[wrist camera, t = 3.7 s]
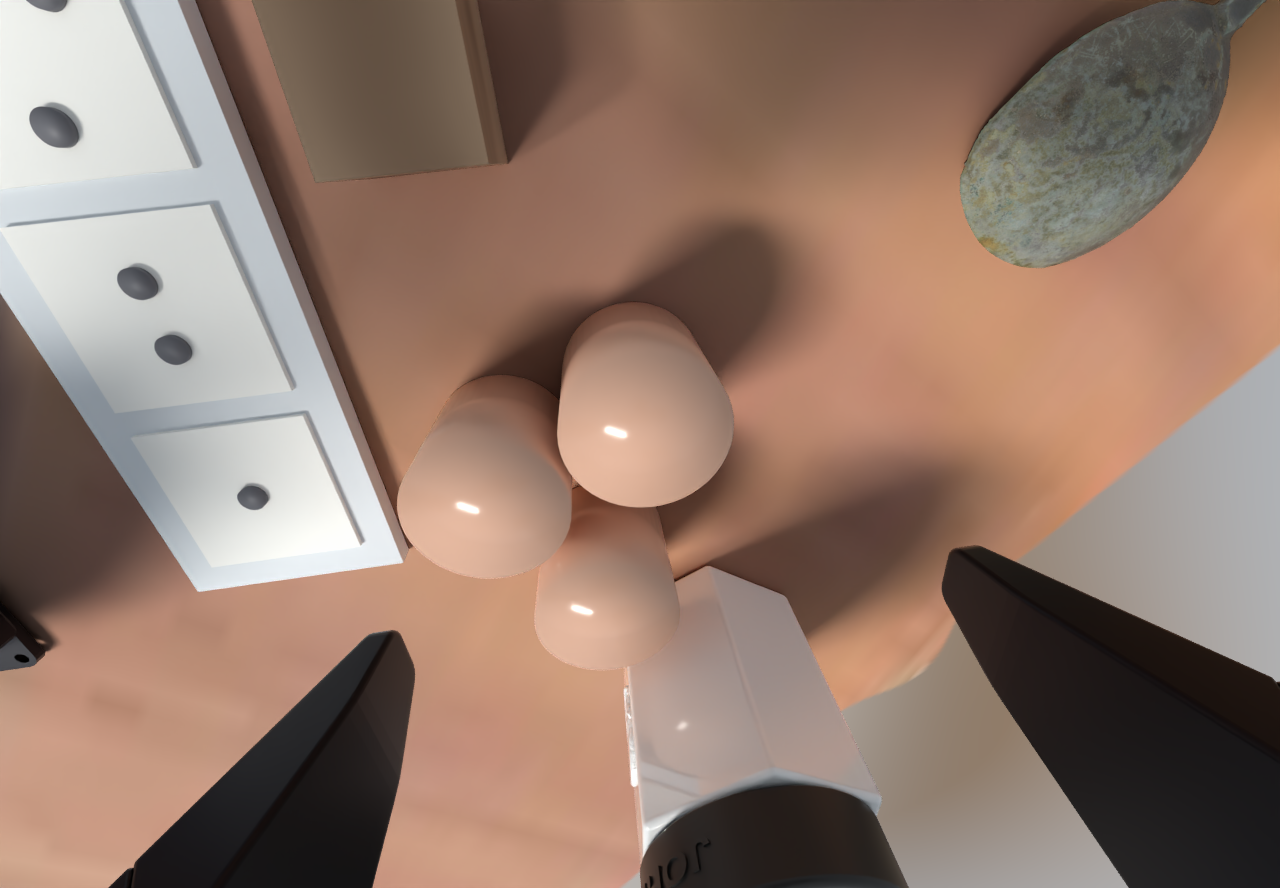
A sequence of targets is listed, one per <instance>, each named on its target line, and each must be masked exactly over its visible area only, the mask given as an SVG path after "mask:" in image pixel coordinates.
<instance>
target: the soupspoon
mask: <svg viewBox="0 0 1280 888" xmlns="http://www.w3.org/2000/svg"><path fill="white" fill-rule="evenodd" d="M1264 2H1266V0H1220V1H1219V2H1218V3H1217V4H1215V5H1209V4H1203V3H1200V2H1195V1H1189V0H1177V1H1165V2H1158V3H1155V4H1152V5H1149V6H1146V7H1144V8H1141V9H1138V10H1136V11H1133V12H1130V13H1128V14H1126V15H1125V16H1122V17H1118V18H1115V19H1113V20H1111V21H1109V22H1107V23H1104V24H1103V25H1101V26H1099V27H1098V28H1096V29H1094V30H1092V31H1090V32H1089V33H1087V34H1085V35H1084V36H1082V37H1080V38H1079V39H1078V40H1077V41H1076V42H1074V43H1073V44H1072V45H1070V46H1069V47H1067V48H1065V49H1064V50H1062V51H1060V52H1059V53H1058V54H1057V55H1055V56H1054V57H1053V58H1052V59H1050V60H1049V61H1048V63H1046V64H1045V66H1043V67H1042V68H1041V70H1040V71H1039V72H1038V73H1037V74H1035V75H1034V76H1033V77H1032V78H1031V79H1030V80H1029V81H1028V82H1027V83H1026V84H1025V85H1024V86H1023V87H1022V88H1021V89H1020V90H1019V91H1018V92H1017V93H1016V94H1015V95H1014V96H1013V97H1012V98H1011V99H1010V100H1009V101H1008V102H1007V103H1006V104H1005V105H1004V106H1003V107H1002V108H1001V109H1000V110H999V111H998V113H997V114H995V116H993V118H992V119H990V120H989V122H988V124H987V125H986V126H984V129H983V130H982V131H981V132H980V134H979V136H978V139H977V140H976V141H975V143H974V145H973V148H972V150H971V152H970V154H969V157H968V160H967V162H966V163H965V167H964V169H963V172H962V174H961V177H960V194H961V201H962V205H963V209H964V213H965V216H966V219H967V221H968V224H969V226H970V228H971V230H972V231H973V233H974V235H975V236H976V238H977V239H978V241H979V242H980V243H981V244H982V245H983V246H984V247H985V248H986V249H987V250H988V251H989V252H990V253H992V254H993V255H995V256H996V257H998V258H1000V259H1001V260H1003V261H1006V262H1008V263H1010V264H1013V265H1017V266H1021V267H1028V268H1045V267H1049V266H1053V265H1057V264H1060V263H1063V262H1066V261H1069V260H1072V259H1076V258H1077V257H1079V256H1082V255H1084V254H1086V253H1088V252H1090V251H1092V250H1095V249H1097V248H1099V247H1101V246H1102V245H1104V244H1106V243H1107V242H1109V241H1111V240H1112V239H1114V238H1115V237H1117V236H1118V235H1120V234H1121V233H1123V232H1124V231H1126V230H1127V229H1129V228H1131V227H1132V226H1133V225H1134V224H1135V223H1137V222H1138V221H1140V220H1141V219H1142V218H1143V217H1144V216H1145V215H1146V214H1148V213H1149V212H1150V211H1151V210H1152V209H1153V208H1155V207H1156V206H1157V205H1158V204H1159V203H1160V202H1161V201H1162V200H1163V199H1164V198H1165V197H1166V196H1167V195H1168V194H1169V193H1170V192H1171V190H1172V189H1173V188H1174V187H1175V186H1176V185H1177V184H1178V183H1179V181H1180V180H1181V179H1182V178H1183V176H1184V175H1185V174H1186V172H1187V171H1188V170H1189V168H1190V167H1191V166H1192V164H1193V163H1194V162H1195V160H1196V158H1197V157H1198V156H1199V154H1200V153H1201V151H1202V150H1203V148H1204V146H1205V144H1206V143H1207V140H1208V138H1209V136H1210V134H1211V132H1212V130H1213V128H1214V126H1215V123H1216V121H1217V119H1218V116H1219V113H1220V110H1221V107H1222V104H1223V100H1224V97H1225V95H1226V89H1227V85H1228V78H1229V66H1230V40H1231V37H1232V35H1233V34H1234V32H1235V31H1236V30H1238V29H1239V28H1240V27H1242V25H1243V24H1244V22H1245V21H1246V19H1248V18H1249V17H1250V16H1251V15H1252V14H1253V13H1254V12H1255V10H1256V9H1258V8H1259V7H1260V6H1261V5H1262V3H1264Z"/></svg>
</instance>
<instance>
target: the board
mask: <svg viewBox="0 0 1280 888" xmlns="http://www.w3.org/2000/svg"><path fill="white" fill-rule="evenodd" d="M0 293H1V295H2V296H3V298H4V299H5V301H6V302H7V304H8V305H9V307H10V308H11V310H12V311H13V313H14V314H15V316H16V317H17V319H18V320H19V322H20V323H21V325H22V326H23V328H24V329H25V331H26V333H27V334H28V336H29V337H30V339H31V340H32V342H33V343H34V345H35V346H36V348H37V349H38V351H39V352H40V354H41V355H42V357H43V358H44V360H45V361H46V363H47V364H48V366H49V367H50V369H51V370H52V372H53V373H54V375H55V376H56V378H57V379H58V381H59V382H60V384H61V385H62V387H63V388H64V390H65V391H66V393H67V394H68V396H69V397H70V399H71V401H72V402H73V404H74V405H75V407H76V408H77V410H78V411H79V413H80V414H81V416H82V417H83V419H84V420H85V422H86V423H87V425H88V426H89V428H90V429H91V431H92V432H93V434H94V435H95V437H96V438H97V440H98V441H99V443H100V444H101V446H102V447H103V449H104V450H105V452H106V453H107V455H108V456H109V458H110V459H111V461H112V462H113V464H114V465H115V467H116V469H117V470H118V472H119V473H120V475H121V476H122V478H123V479H124V481H125V482H126V484H127V485H128V487H129V488H130V490H131V491H132V493H133V494H134V496H135V497H136V499H137V500H138V502H139V503H140V505H141V506H142V508H143V509H144V511H145V512H146V514H147V515H148V517H149V518H150V520H151V521H152V523H153V524H154V526H155V527H156V529H157V530H158V532H159V533H160V535H161V537H162V538H163V540H164V541H165V543H166V544H167V546H168V547H169V549H170V550H171V552H172V553H173V555H174V556H175V558H176V559H177V561H178V562H179V564H180V565H181V567H182V568H183V570H184V571H185V573H186V574H187V576H188V577H189V579H190V580H191V582H192V583H193V585H194V586H195V588H196V589H197V591H198V592H201V591H208V590H215V589H222V588H229V587H236V586H243V585H250V584H257V583H264V582H271V581H278V580H285V579H292V578H299V577H306V576H313V575H320V574H327V573H334V572H341V571H348V570H355V569H363V568H370V567H377V566H384V565H391V564H398V563H403V562H404V560H405V558H406V555H407V553H408V551H409V549H408V546H407V544H406V541H405V539H404V536H403V533H402V531H401V528H400V526H399V523H398V521H397V518H396V515H395V513H394V510H393V508H392V505H391V503H390V500H389V497H388V495H387V492H386V490H385V487H384V485H383V482H382V479H381V477H380V474H379V472H378V469H377V467H376V464H375V461H374V459H373V456H372V454H371V451H370V449H369V446H368V443H367V441H366V438H365V436H364V433H363V431H362V428H361V425H360V423H359V420H358V418H357V415H356V413H355V410H354V408H353V405H352V402H351V400H350V397H349V395H348V392H347V390H346V387H345V384H344V382H343V379H342V377H341V374H340V372H339V369H338V366H337V364H336V361H335V359H334V356H333V354H332V351H331V348H330V346H329V343H328V341H327V338H326V336H325V333H324V330H323V328H322V325H321V323H320V320H319V318H318V315H317V312H316V310H315V307H314V305H313V302H312V300H311V297H310V294H309V292H308V289H307V287H306V284H305V282H304V279H303V276H302V274H301V271H300V269H299V266H298V264H297V261H296V258H295V256H294V253H293V251H292V248H291V246H290V243H289V240H288V238H287V235H286V233H285V230H284V228H283V225H282V222H281V220H280V217H279V215H278V212H277V210H276V207H275V205H274V202H273V199H272V197H271V194H270V192H269V189H268V187H267V184H266V181H265V179H264V176H263V174H262V171H261V169H260V166H259V163H258V161H257V158H256V156H255V153H254V151H253V148H252V145H251V143H250V140H249V138H248V135H247V133H246V130H245V127H244V125H243V122H242V120H241V117H240V115H239V112H238V109H237V107H236V104H235V102H234V99H233V97H232V94H231V91H230V89H229V86H228V84H227V81H226V79H225V76H224V73H223V71H222V68H221V66H220V63H219V61H218V58H217V55H216V53H215V50H214V48H213V45H212V43H211V40H210V37H209V35H208V32H207V30H206V27H205V25H204V22H203V19H202V17H201V14H200V12H199V9H198V7H197V4H196V2H195V0H0Z"/></svg>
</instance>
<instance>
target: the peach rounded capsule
mask: <svg viewBox="0 0 1280 888" xmlns="http://www.w3.org/2000/svg"><path fill="white" fill-rule="evenodd" d="M559 404H560V402H559V400H558V399H557V398H556V397H555V396H554V395H553V394H552V393H550V392H549V391H548V390H547V389H545V388H544V387H542V386H540V385H539V384H537V383H535V382H532V381H530V380H528V379H524V378H521V377H517V376H511V375H491V376H486V377H481V378H478V379H475V380H473V381H470V382H468V383H466V384H465V385H463V386H462V387H460V388H459V389H458V390H456V391H455V392H454V393H453V394H452V395H451V396H450V398H449V399H448V400H447V401H446V403H445V405H444V406H443V408H442V410H441V412H440V413H439V415H438V417H437V419H436V421H435V422H434V424H433V426H432V428H431V430H430V431H429V433H428V435H427V437H426V439H425V440H424V442H423V444H422V446H421V448H420V449H419V451H418V453H417V455H416V457H415V458H414V460H413V462H412V464H411V465H410V467H409V469H408V471H407V473H406V474H405V476H404V478H403V480H402V483H401V485H400V488H399V492H398V497H397V511H398V517H399V521H400V524H401V527H402V529H403V531H404V533H405V535H406V536H407V538H408V539H409V541H410V542H411V544H412V545H413V546H414V547H415V548H416V549H417V550H418V551H419V552H420V553H421V554H422V555H423V556H424V557H426V558H427V559H428V560H430V561H431V562H433V563H434V564H436V565H438V566H440V567H442V568H444V569H446V570H448V571H451V572H453V573H457V574H460V575H464V576H468V577H474V578H483V579H495V578H505V577H510V576H515V575H519V574H522V573H525V572H527V571H530V570H532V569H534V568H536V567H538V566H539V565H541V564H543V563H544V562H545V561H547V560H548V559H549V558H550V557H551V556H552V555H553V554H554V553H555V552H556V551H557V550H558V549H559V548H560V546H561V545H562V543H563V542H564V540H565V538H566V536H567V533H568V531H569V528H570V523H571V512H572V475H571V474H570V472H569V471H568V469H567V467H566V466H565V464H564V462H563V459H562V457H561V454H560V450H559V446H558V438H557V428H558V415H559Z"/></svg>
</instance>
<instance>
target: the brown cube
mask: <svg viewBox="0 0 1280 888" xmlns="http://www.w3.org/2000/svg"><path fill="white" fill-rule="evenodd" d="M252 3H253V5H254V8H255V11H256V14H257V17H258V20H259V23H260V25H261V28H262V31H263V34H264V37H265V40H266V43H267V46H268V48H269V51H270V54H271V57H272V60H273V63H274V66H275V68H276V71H277V74H278V77H279V80H280V83H281V86H282V89H283V91H284V94H285V97H286V100H287V103H288V106H289V109H290V111H291V114H292V117H293V120H294V123H295V126H296V129H297V132H298V134H299V137H300V140H301V143H302V146H303V149H304V152H305V154H306V157H307V160H308V163H309V166H310V169H311V172H312V174H313V177H314V180H315V183H320V182H334V181H347V180H361V179H374V178H383V177H392V176H401V175H410V174H419V173H428V172H437V171H446V170H455V169H464V168H473V167H482V166H492V165H501V164H508V160H507V155H506V149H505V144H504V139H503V134H502V128H501V123H500V118H499V113H498V107H497V102H496V97H495V92H494V86H493V81H492V76H491V71H490V66H489V60H488V55H487V50H486V45H485V39H484V34H483V29H482V24H481V18H480V13H479V8H478V3H477V0H252Z"/></svg>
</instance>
